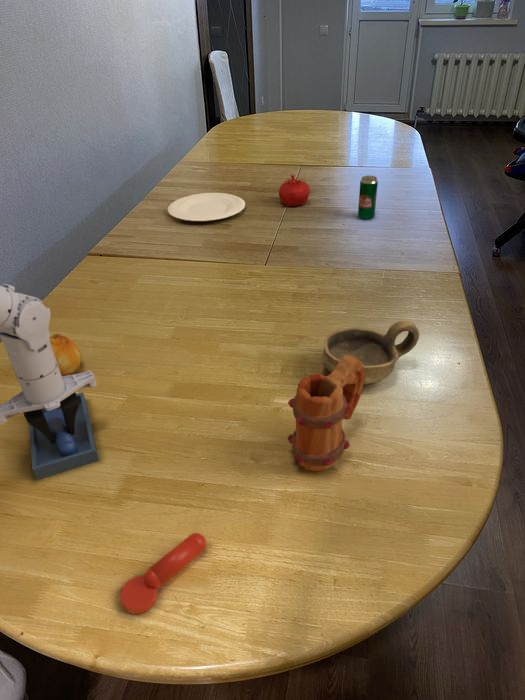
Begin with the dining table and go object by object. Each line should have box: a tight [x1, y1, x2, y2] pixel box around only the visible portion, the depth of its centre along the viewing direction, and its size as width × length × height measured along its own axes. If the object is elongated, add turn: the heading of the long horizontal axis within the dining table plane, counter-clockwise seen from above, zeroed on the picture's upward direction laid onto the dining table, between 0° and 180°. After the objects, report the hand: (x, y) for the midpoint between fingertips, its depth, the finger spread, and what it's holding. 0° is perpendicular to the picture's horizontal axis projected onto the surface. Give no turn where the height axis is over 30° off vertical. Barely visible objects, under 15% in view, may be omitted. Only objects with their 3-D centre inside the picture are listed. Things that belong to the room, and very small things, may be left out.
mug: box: [287, 355, 365, 472], centre depth 76 cm, size 15×8×15 cm, turn 136°
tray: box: [28, 391, 100, 480], centre depth 84 cm, size 15×9×2 cm, turn 23°
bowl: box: [320, 319, 420, 385], centre depth 93 cm, size 14×18×10 cm
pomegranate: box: [278, 174, 311, 207], centre depth 167 cm, size 10×10×9 cm
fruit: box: [49, 333, 82, 377], centre depth 98 cm, size 8×8×8 cm
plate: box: [167, 192, 246, 223], centre depth 166 cm, size 25×25×2 cm
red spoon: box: [120, 532, 207, 615], centre depth 64 cm, size 12×4×3 cm, turn 135°
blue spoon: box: [44, 409, 77, 456], centre depth 84 cm, size 12×4×3 cm, turn 35°
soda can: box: [357, 174, 379, 221], centre depth 154 cm, size 5×5×12 cm
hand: (61, 435), depth 82 cm, fingers closed on blue spoon, 2 cm apart
